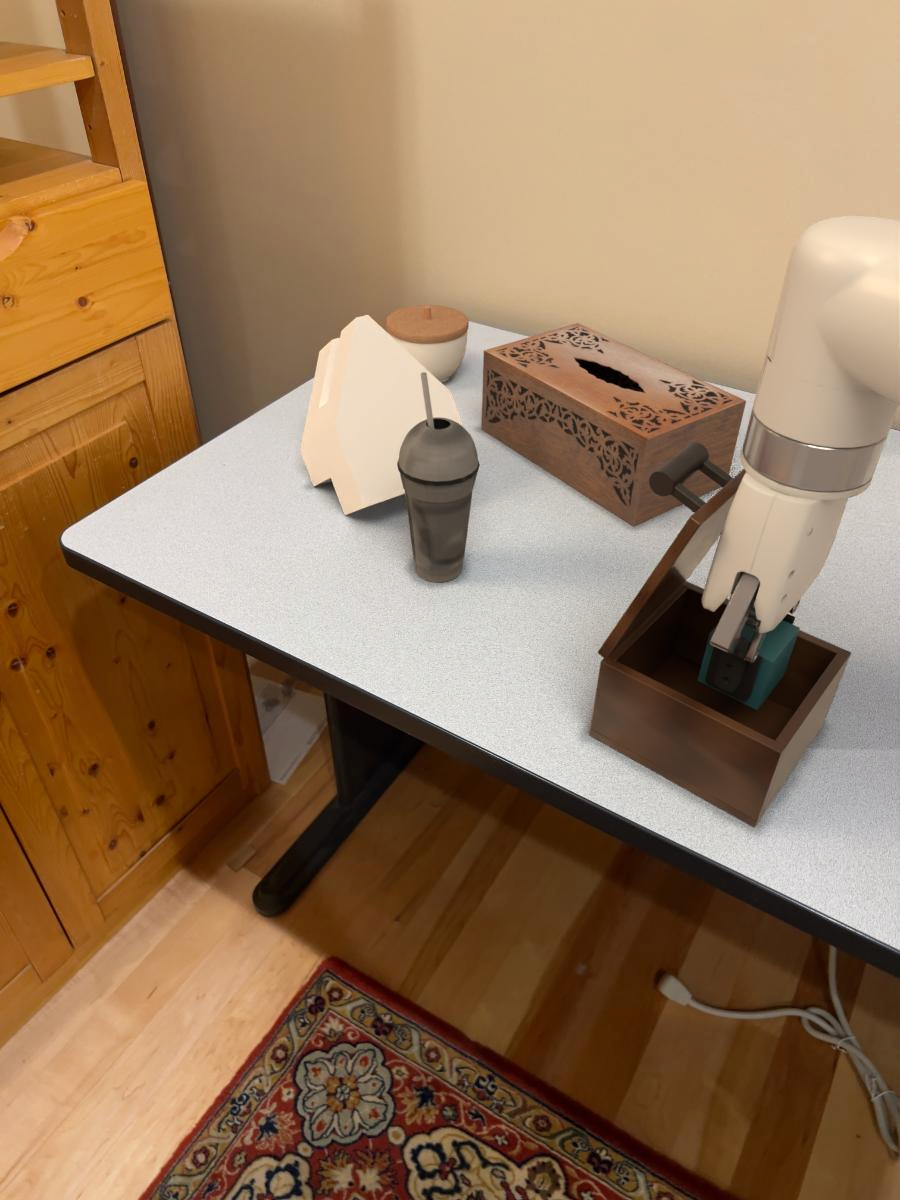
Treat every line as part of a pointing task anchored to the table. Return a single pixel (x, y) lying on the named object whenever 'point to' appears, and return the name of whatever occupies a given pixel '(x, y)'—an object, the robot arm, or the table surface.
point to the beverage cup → (438, 492)
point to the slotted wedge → (366, 413)
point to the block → (773, 662)
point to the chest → (710, 709)
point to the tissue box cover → (605, 416)
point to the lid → (679, 535)
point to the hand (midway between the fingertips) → (744, 668)
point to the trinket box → (431, 336)
